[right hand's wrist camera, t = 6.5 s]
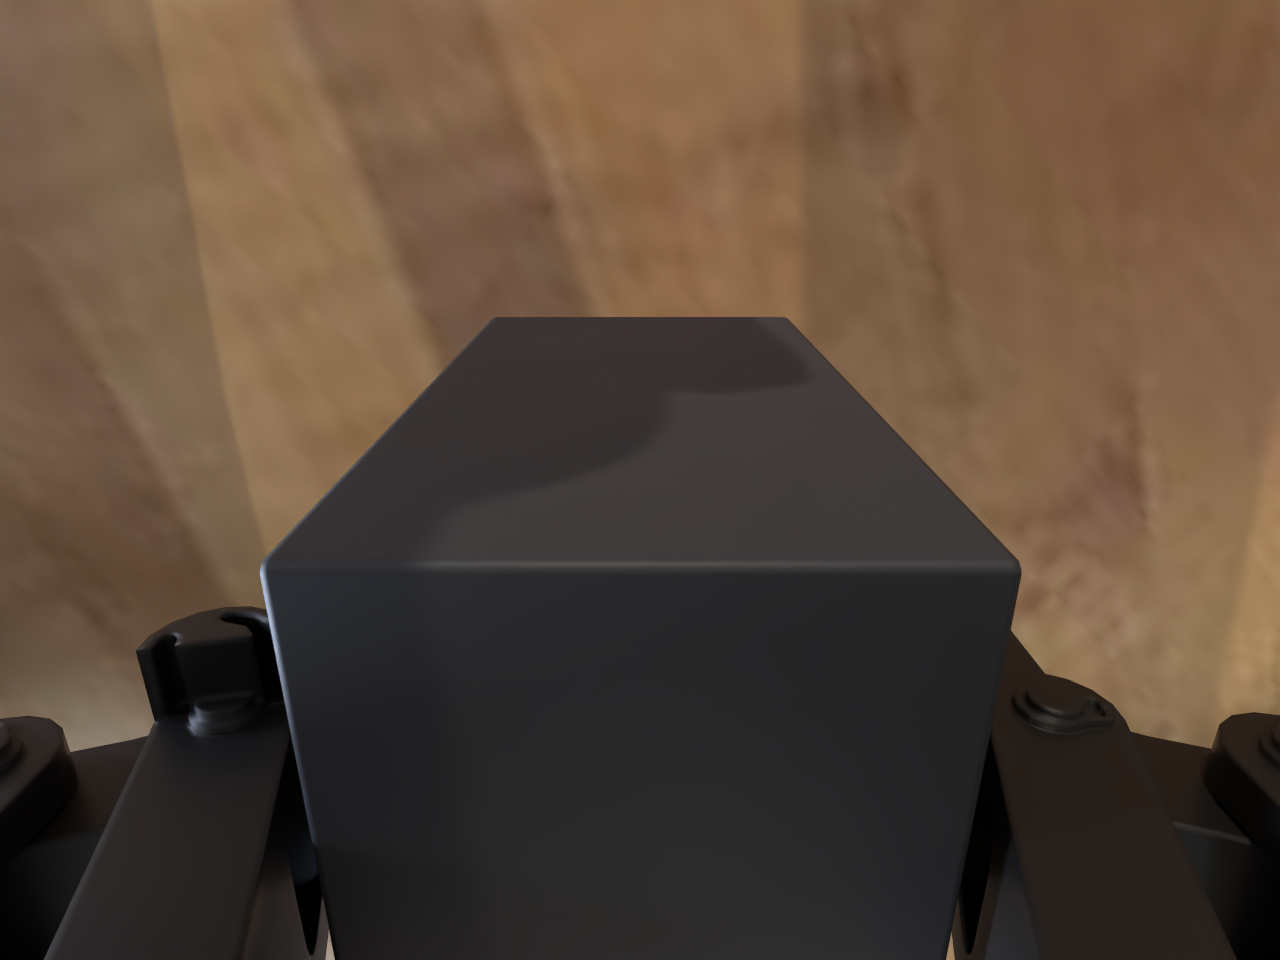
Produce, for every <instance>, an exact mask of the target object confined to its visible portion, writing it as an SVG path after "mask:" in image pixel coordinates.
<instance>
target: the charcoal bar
mask: <svg viewBox="0 0 1280 960" xmlns="http://www.w3.org/2000/svg"><path fill="white" fill-rule="evenodd" d="M260 578H261V583H262V588H263V593H264V599H265V604H266V609H267V614H268V619H269V624H270V629H271V634H272V639H273V645H274V650H275V655H276V660H277V665H278V670H279V675H280V680H281V686H282V691H283V696H284V701H285V706H286V711H287V716H288V721H289V727H290V732H291V737H292V742H293V747H294V752H295V757H296V762H297V767H298V773H299V778H300V783H301V788H302V793H303V798H304V803H305V808H306V814H307V819H308V824H309V829H310V834H311V839H312V844H313V849H314V855H315V860H316V865H317V870H318V875H319V880H320V885H321V890H322V895H323V901H324V906H325V911H326V916H327V921H328V926H329V931H330V936H331V942H332V947H333V952H334V957H335V960H946V956H947V951H948V946H949V941H950V936H951V931H952V926H953V921H954V916H955V910H956V905H957V900H958V895H959V890H960V885H961V880H962V875H963V870H964V864H965V859H966V854H967V849H968V844H969V839H970V834H971V829H972V824H973V819H974V813H975V808H976V803H977V798H978V793H979V788H980V783H981V778H982V773H983V767H984V762H985V757H986V752H987V747H988V742H989V737H990V732H991V727H992V722H993V716H994V711H995V706H996V701H997V696H998V691H999V686H1000V681H1001V676H1002V670H1003V665H1004V660H1005V655H1006V650H1007V645H1008V640H1009V635H1010V630H1011V625H1012V619H1013V614H1014V609H1015V604H1016V599H1017V594H1018V589H1019V584H1020V579H1021V567H1020V564H1019V561H1018V560H1017V559H1016V558H1015V556H1014V555H1013V554H1012V553H1011V552H1010V551H1009V550H1008V549H1007V548H1006V547H1005V546H1004V545H1003V544H1002V543H1001V542H1000V541H999V540H998V539H997V538H996V537H995V536H994V534H993V533H992V532H991V531H990V530H989V529H988V528H987V527H986V526H985V525H984V524H983V523H982V522H981V521H980V520H979V519H978V518H977V517H976V516H975V515H974V514H973V512H972V511H971V510H970V509H969V508H968V507H967V506H966V505H965V504H964V503H963V502H962V501H961V500H960V499H959V498H958V497H957V496H956V495H955V494H954V493H953V491H952V490H951V489H950V488H949V487H948V486H947V485H946V484H945V483H944V482H943V481H942V480H941V479H940V478H939V477H938V476H937V475H936V474H935V473H934V472H933V471H932V469H931V468H930V467H929V466H928V465H927V464H926V463H925V462H924V461H923V460H922V459H921V458H920V457H919V456H918V455H917V454H916V453H915V452H914V451H913V450H912V449H911V447H910V446H909V445H908V444H907V443H906V442H905V441H904V440H903V439H902V438H901V437H900V436H899V435H898V434H897V433H896V432H895V431H894V430H893V429H892V428H891V426H890V425H889V424H888V423H887V422H886V421H885V420H884V419H883V418H882V417H881V416H880V415H879V414H878V413H877V412H876V411H875V410H874V409H873V408H872V407H871V406H870V404H869V403H868V402H867V401H866V400H865V399H864V398H863V397H862V396H861V395H860V394H859V393H858V392H857V391H856V390H855V389H854V388H853V387H852V386H851V385H850V384H849V382H848V381H847V380H846V379H845V378H844V377H843V376H842V375H841V374H840V373H839V372H838V371H837V370H836V369H835V368H834V367H833V366H832V365H831V364H830V363H829V361H828V360H827V359H826V358H825V357H824V356H823V355H822V354H821V353H820V352H819V351H818V350H817V349H816V348H815V347H814V346H813V345H812V344H811V343H810V342H809V341H808V339H807V338H806V337H805V336H804V335H803V334H802V333H801V332H800V331H799V330H798V329H797V328H796V327H795V326H794V325H793V324H792V323H791V322H790V321H789V320H788V319H787V318H785V317H496V318H493V319H492V320H491V321H490V322H489V323H488V324H487V325H486V326H485V327H484V328H483V329H482V331H481V332H480V333H479V334H478V335H477V336H476V337H475V338H474V339H473V340H472V341H471V342H470V343H469V344H468V345H467V346H466V347H465V348H464V349H463V350H462V352H461V353H460V354H459V355H458V356H457V357H456V358H455V359H454V360H453V361H452V362H451V363H450V364H449V365H448V366H447V367H446V368H445V369H444V370H443V372H442V373H441V374H440V375H439V376H438V377H437V378H436V379H435V380H434V381H433V382H432V383H431V384H430V385H429V386H428V387H427V388H426V389H425V390H424V392H423V393H422V394H421V395H420V396H419V397H418V398H417V399H416V400H415V401H414V402H413V403H412V404H411V405H410V406H409V407H408V408H407V409H406V410H405V411H404V413H403V414H402V415H401V416H400V417H399V418H398V419H397V420H396V421H395V422H394V423H393V424H392V425H391V426H390V427H389V428H388V429H387V430H386V431H385V433H384V434H383V435H382V436H381V437H380V438H379V439H378V440H377V441H376V442H375V443H374V444H373V445H372V446H371V447H370V448H369V449H368V450H367V451H366V452H365V454H364V455H363V456H362V457H361V458H360V459H359V460H358V461H357V462H356V463H355V464H354V465H353V466H352V467H351V468H350V469H349V470H348V471H347V472H346V474H345V475H344V476H343V477H342V478H341V479H340V480H339V481H338V482H337V483H336V484H335V485H334V486H333V487H332V488H331V489H330V490H329V491H328V492H327V494H326V495H325V496H324V497H323V498H322V499H321V500H320V501H319V502H318V503H317V504H316V505H315V506H314V507H313V508H312V509H311V510H310V511H309V512H308V513H307V515H306V516H305V517H304V518H303V519H302V520H301V521H300V522H299V523H298V524H297V525H296V526H295V527H294V528H293V529H292V530H291V531H290V532H289V533H288V535H287V536H286V537H285V538H284V539H283V540H282V541H281V542H280V543H279V544H278V545H277V546H276V547H275V548H274V549H273V550H272V551H271V552H270V553H269V555H268V556H267V557H266V558H265V559H264V560H263V561H262V564H261V568H260Z"/></svg>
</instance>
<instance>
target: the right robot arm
mask: <svg viewBox="0 0 1280 960" xmlns="http://www.w3.org/2000/svg"><path fill="white" fill-rule="evenodd" d="M136 653H137V657H138V661H139V664H140V668H141V672H142V675H143V679H144V683H145V687H146V690H147V694H148V698H149V701H150V705H151V709H152V713H153V716H154V720H155V722H154V725H153V727H152V729H151V731H150V733H149V735H148V736H145V737H141V738H137V739H134V740H129V741H124V742H119V743H114V744H109V745H104V746H99V747H94V748H89V749H84V750H79V751H74V752H70V750H69V747H68V744H67V741H66V738H65V735H64V732H63V729H62V727H60V726H59V725H58V724H56V723H55V722H54V721H52V720H51V719H48V718H40V717H33V716H23V717H14V718H6V719H0V960H325V958H326V949H327V940H328V931H329V926H328V921H327V916H326V911H325V906H324V901H323V895H322V890H321V885H320V880H319V875H318V870H317V865H316V860H315V855H314V849H313V844H312V839H311V834H310V829H309V824H308V819H307V814H306V808H305V803H304V798H303V793H302V788H301V783H300V778H299V773H298V767H297V762H296V757H295V752H294V747H293V742H292V737H291V732H290V727H289V721H288V716H287V711H286V706H285V701H284V696H283V691H282V686H281V680H280V675H279V670H278V665H277V660H276V655H275V650H274V645H273V639H272V634H271V629H270V624H269V619H268V614H267V610H265V609H261V608H256V607H251V606H250V607H224V608H219V609H215V610H210V611H205V612H200V613H196V614H194V615H191V616H188V617H186V618H183V619H180V620H177V621H175V622H172V623H170V624H169V625H167V626H165V627H163V628H162V629H160V630H158V631H157V632H155V633H153V634H152V635H150V636H149V637H148V638H147V639H146V640H145V641H144V642H143V643H142V644H141V646H140V647H139V648H138V649H137V650H136ZM952 938H953V947H954V956H955V960H1280V715H1272V714H1264V713H1255V712H1253V713H1245V714H1238V715H1232V716H1230V717H1229V718H1228V719H1226V720H1225V721H1223V722H1222V723H1221V724H1220V725H1219V728H1218V731H1217V734H1216V737H1215V740H1214V743H1213V746H1212V749H1209V748H1204V747H1199V746H1194V745H1189V744H1184V743H1179V742H1174V741H1169V740H1164V739H1159V738H1154V737H1149V736H1145V735H1141V734H1138V733H1134V732H1130V730H1129V727H1128V725H1127V723H1126V721H1125V720H1124V718H1123V717H1122V716H1121V714H1120V713H1119V712H1118V711H1117V709H1116V708H1115V707H1114V706H1113V704H1111V703H1110V702H1108V701H1107V700H1106V699H1104V698H1103V697H1101V696H1100V695H1098V694H1097V693H1096V692H1094V691H1093V690H1091V689H1089V688H1086V687H1084V686H1082V685H1079V684H1077V683H1075V682H1072V681H1070V680H1068V679H1065V678H1060V677H1056V676H1052V675H1047V674H1045V673H1044V672H1043V671H1042V669H1041V668H1040V667H1039V666H1038V664H1037V663H1036V662H1035V661H1034V659H1033V658H1032V657H1031V655H1030V654H1029V653H1028V652H1027V650H1026V649H1025V648H1024V647H1023V645H1022V644H1021V643H1020V642H1019V640H1018V639H1017V638H1016V637H1015V635H1014V634H1013V633H1012V632H1011V630H1010V635H1009V640H1008V645H1007V650H1006V655H1005V660H1004V665H1003V670H1002V676H1001V681H1000V686H999V691H998V696H997V701H996V706H995V711H994V716H993V722H992V727H991V732H990V737H989V742H988V747H987V752H986V757H985V762H984V767H983V773H982V778H981V783H980V788H979V793H978V798H977V803H976V808H975V813H974V819H973V824H972V829H971V834H970V839H969V844H968V849H967V854H966V859H965V864H964V870H963V875H962V880H961V885H960V890H959V895H958V900H957V905H956V910H955V916H954V921H953V926H952Z"/></svg>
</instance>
